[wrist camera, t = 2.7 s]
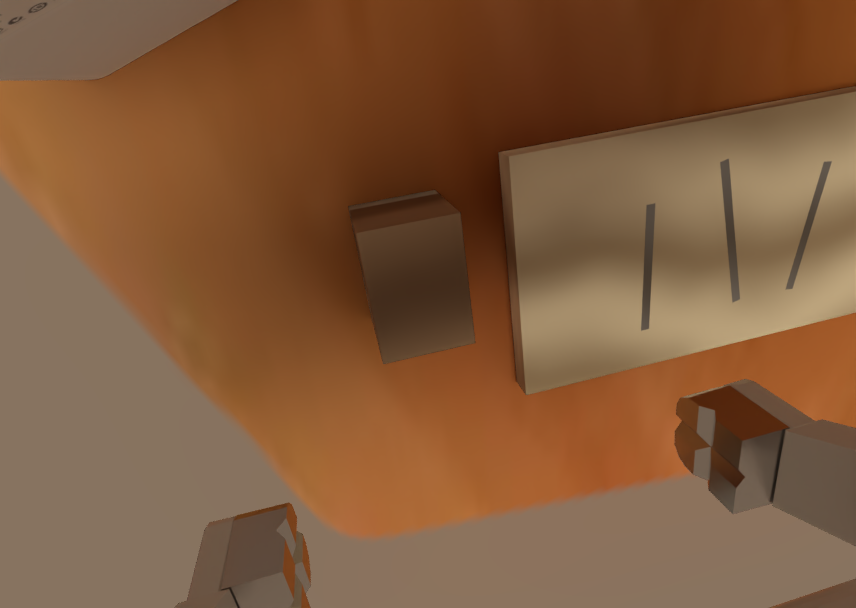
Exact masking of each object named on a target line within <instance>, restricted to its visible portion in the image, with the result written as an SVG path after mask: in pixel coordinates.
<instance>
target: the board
mask: <svg viewBox="0 0 856 608" xmlns="http://www.w3.org/2000/svg"><path fill="white" fill-rule="evenodd" d="M498 153H499V166H500V178H501V191H502V203H503V216H504V228H505V241H506V253H507V266H508V278H509V291H510V303H511V316H512V328H513V341H514V353H515V366H516V378H517V383H518V384H519V386H520V387H521V389H522V390H523V391H524V393H525V394H526V395H529V394H533V393H537V392H541V391H545V390H549V389H553V388H557V387H561V386H565V385H569V384H573V383H577V382H581V381H585V380H589V379H593V378H597V377H601V376H604V375H608V374H612V373H616V372H620V371H624V370H628V369H632V368H636V367H640V366H644V365H648V364H652V363H656V362H660V361H664V360H668V359H672V358H676V357H680V356H684V355H688V354H692V353H696V352H700V351H704V350H708V349H712V348H716V347H720V346H724V345H728V344H732V343H736V342H740V341H744V340H748V339H752V338H756V337H760V336H764V335H768V334H772V333H776V332H780V331H784V330H788V329H792V328H796V327H800V326H804V325H808V324H812V323H816V322H820V321H824V320H828V319H832V318H835V317H839V316H843V315H847V314H851V313H855V312H856V86H853V87H848V88H842V89H837V90H832V91H826V92H821V93H815V94H810V95H805V96H799V97H794V98H788V99H783V100H778V101H772V102H767V103H761V104H756V105H751V106H745V107H740V108H734V109H729V110H724V111H718V112H713V113H707V114H702V115H697V116H691V117H686V118H680V119H675V120H670V121H664V122H659V123H653V124H648V125H643V126H637V127H632V128H626V129H621V130H616V131H610V132H605V133H599V134H594V135H589V136H583V137H578V138H572V139H567V140H562V141H556V142H551V143H545V144H540V145H535V146H529V147H524V148H518V149H513V150H508V151H502V152H498Z"/></svg>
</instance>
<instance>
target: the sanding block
mask: <svg viewBox="0 0 856 608" xmlns="http://www.w3.org/2000/svg"><path fill="white" fill-rule="evenodd" d="M348 208H349V213H350V218H351V222H352V227H353V232H354V237H355V242H356V246H357V251H358V256H359V261H360V265H361V270H362V275H363V280H364V285H365V289H366V294H367V299H368V304H369V308H370V313H371V318H372V322H373V326H374V330H375V334H376V338H377V341H378V345H379V349H380V353H381V357H382V361H383V364H387V363H391V362H395V361H400V360H404V359H408V358H412V357H417V356H421V355H425V354H430V353H434V352H438V351H443V350H447V349H451V348H456V347H460V346H464V345H469V344H473V343H475V335H474V326H473V317H472V309H471V300H470V291H469V282H468V274H467V265H466V256H465V247H464V239H463V230H462V221H461V213H460V212H459V211H458V210H457V209H456V208H455V207H454V206H452V205H451V204H450V203H449V202H448V201H447V200H446V199H445V198H443V197H442V196H441V195H440V194H439V193H438V192H437V191H436V190H431V191H426V192H421V193H415V194H410V195H405V196H399V197H394V198H389V199H383V200H378V201H373V202H367V203H362V204H357V205H352V206H348Z"/></svg>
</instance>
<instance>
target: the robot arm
mask: <svg viewBox="0 0 856 608" xmlns="http://www.w3.org/2000/svg"><path fill="white" fill-rule="evenodd" d="M676 415H677V416H678V417H679V418H680V419H681V420H682V421H681V423H680V424H679V426H678V427H677V429H676V430H675V447H676V449H677V452H678V455H679V458H680V459H681V461H682V462H683V464H684V465H685V467H686V468H687V469H688V470H689V471H690V472H691V473H692V474H693V475H695V476H698V477H700V478H703V479H705V480H708V489H709V491H710V492H711V493H712V494H713V495H714V496H715V497H716V498H717V499H718V500H719V501H720V502H721V503H722V504H723V505H724V506H725V507H726V508H727V509H728V510H729V511H730V512H731V513H732V514H735V513H739V512H743V511H747V510H750V509H754V508H757V507H761V506H765V505H769V504H773V505H772V506H774V507H776V508H778V509H780V510H782V511H784V512H786V513H788V514H790V515H792V516H794V517H797V518H798V519H801V520H803V521H805V522H807V523H809V524H811V525H813V526H815V527H817V528H819V529H821V530H823V531H825V532H828V533H829V534H831V535H833V536H836V537H838V538H840V539H842V540H844V541H846V542H848V543H850V544H852V545H854V546H856V428H853V427H849V426H845V425H842V424H838V423H834V422H830V421H826V420H818V421H814V420H813V419H811V418H810V417H808V416H807V415H805V414H803V413H802V412H800V411H799V410H797V409H796V408H794V407H793V406H791V405H790V404H788V403H787V402H785V401H783V400H782V399H780V398H779V397H777V396H776V395H774V394H773V393H771V392H770V391H768V390H767V389H765V388H763V387H762V386H760V385H759V384H757V383H756V382H754V381H751V380H747V379H744V380H740V381H737V382H733V383H730V384H726V385H723V386H722V387H717V388H713V389H710V390H706V391H703V392H699V393H695V394H692V395H688V396H684V397H681V398H680V399H679V401H678V403H677V406H676ZM296 528H297V516H296V514H295V511H294V509H293V506H292V504H290V503H285V504H281V505H277V506H273V507H269V508H265V509H261V510H256V511H252V512H248V513H244V514H240V515H237V516H235V517H231V518H226V519H222V520H218V521H213V522H210V523H209V524H208V525H207V527H206V528H205V530H204V534H203V538H202V542H201V546H200V550H199V554H198V558H197V562H196V566H195V570H194V574H193V578H192V582H191V586H190V590H189V594H188V598H187V601H184V602H181V603H178V604H177V605H176V606H175V608H311V607H310V605H309V602H308V599H307V596H306V592H307V591H308V589H309V588H310V586H311V571H310V563H309V555H308V551H307V546H306V542H305V539H304V536H303V534H302V533H300V532H298V531H296ZM770 608H856V579H853V580H850V581H847V582H844V583H841V584H838V585H835V586H832V587H829V588H826V589H823V590H820V591H817V592H814V593H811V594H809V595H805V596H803V597H799V598H796V599H794V600H790V601H788V602H785V603H782V604H779V605H776V606H773V607H770Z"/></svg>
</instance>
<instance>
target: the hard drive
mask: <svg viewBox="0 0 856 608" xmlns="http://www.w3.org/2000/svg"><path fill="white" fill-rule="evenodd" d="M236 1H238V0H0V80H95V79H100V78H103V77H105V76H108V75H110V74H111V73H113V72H115V71H116V70H118V69H120V68H122V67H124V66H125V65H127V64H129V63H130V62H132V61H134V60H135V59H137V58H139V57H141V56H142V55H144V54H146V53H147V52H149V51H151V50H153V49H154V48H156V47H158V46H160V45H161V44H163V43H165V42H167V41H168V40H170V39H172V38H173V37H175V36H177V35H179V34H180V33H182V32H184V31H185V30H187V29H189V28H191V27H192V26H194V25H196V24H198V23H199V22H201V21H203V20H205V19H207V18H208V17H210V16H212V15H214V14H215V13H217V12H219V11H220V10H222V9H224V8H226V7H227V6H229V5H231V4H233V3H234V2H236Z"/></svg>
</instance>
